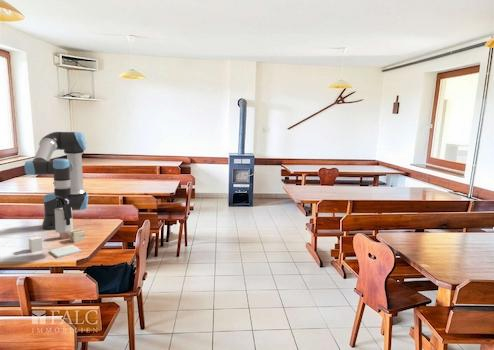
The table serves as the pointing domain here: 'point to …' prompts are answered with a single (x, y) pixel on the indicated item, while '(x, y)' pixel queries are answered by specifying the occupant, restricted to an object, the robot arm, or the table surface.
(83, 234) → the birch block
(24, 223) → the table surface
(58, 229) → the cup
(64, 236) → the terracotta cylinder
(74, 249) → the mat
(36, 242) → the offwhite box
